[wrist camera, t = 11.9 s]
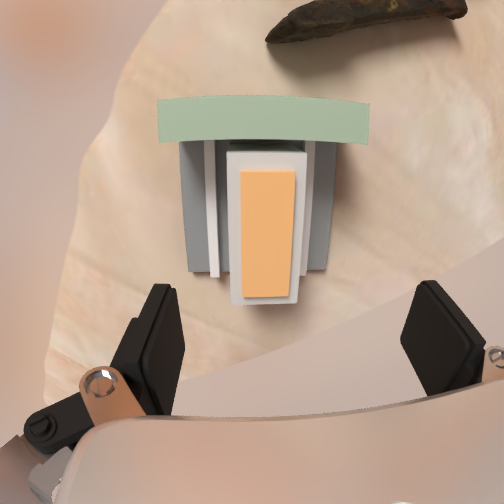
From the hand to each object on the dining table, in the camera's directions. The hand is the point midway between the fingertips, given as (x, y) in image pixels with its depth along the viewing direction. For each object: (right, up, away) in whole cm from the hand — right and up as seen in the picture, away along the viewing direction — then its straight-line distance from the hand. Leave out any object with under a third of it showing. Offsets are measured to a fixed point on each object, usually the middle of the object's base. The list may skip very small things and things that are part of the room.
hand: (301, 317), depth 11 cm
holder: (-1, +6, +13) cm, 14 cm away
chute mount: (-1, +8, +13) cm, 15 cm away
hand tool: (+8, +22, +7) cm, 25 cm away
